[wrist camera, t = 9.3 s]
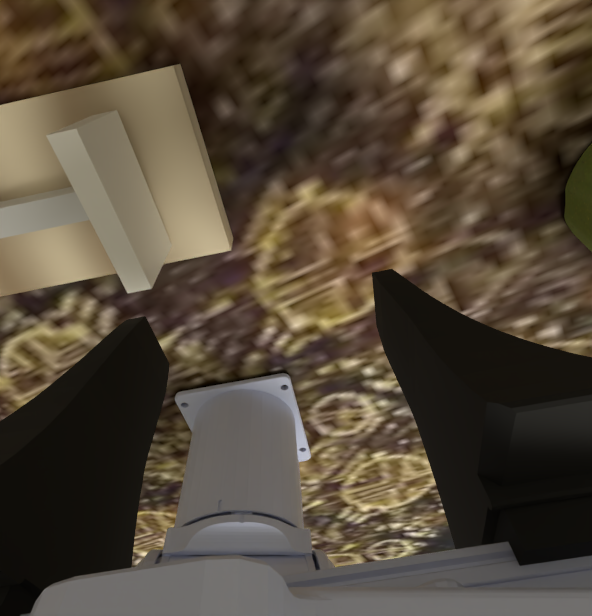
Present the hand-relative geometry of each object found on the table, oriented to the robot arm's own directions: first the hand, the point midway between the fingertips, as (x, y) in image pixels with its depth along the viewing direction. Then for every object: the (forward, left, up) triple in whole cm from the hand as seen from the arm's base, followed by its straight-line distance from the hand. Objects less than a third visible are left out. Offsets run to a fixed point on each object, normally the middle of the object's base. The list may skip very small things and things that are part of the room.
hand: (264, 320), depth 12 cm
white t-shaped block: (+3, +9, -8) cm, 12 cm away
